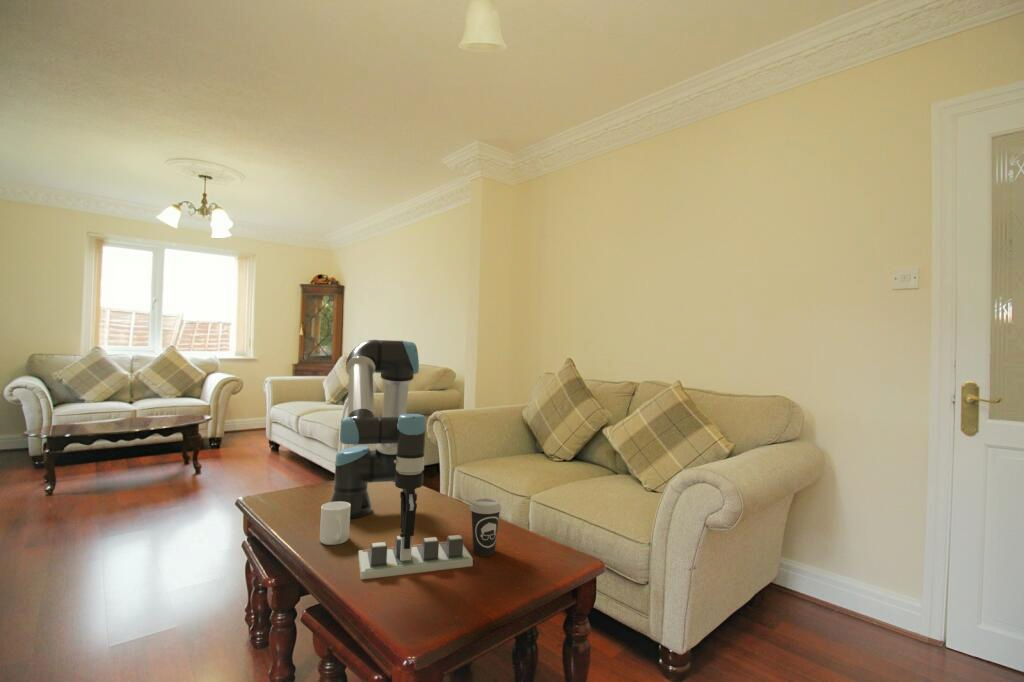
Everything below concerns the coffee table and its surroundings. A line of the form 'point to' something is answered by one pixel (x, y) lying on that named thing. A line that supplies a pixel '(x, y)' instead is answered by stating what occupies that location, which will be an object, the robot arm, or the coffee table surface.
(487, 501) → the coffee cup
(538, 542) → the coffee table surface
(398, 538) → the block
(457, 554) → the block
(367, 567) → the panel
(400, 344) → the robot arm
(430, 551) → the block
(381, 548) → the block
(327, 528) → the mug
